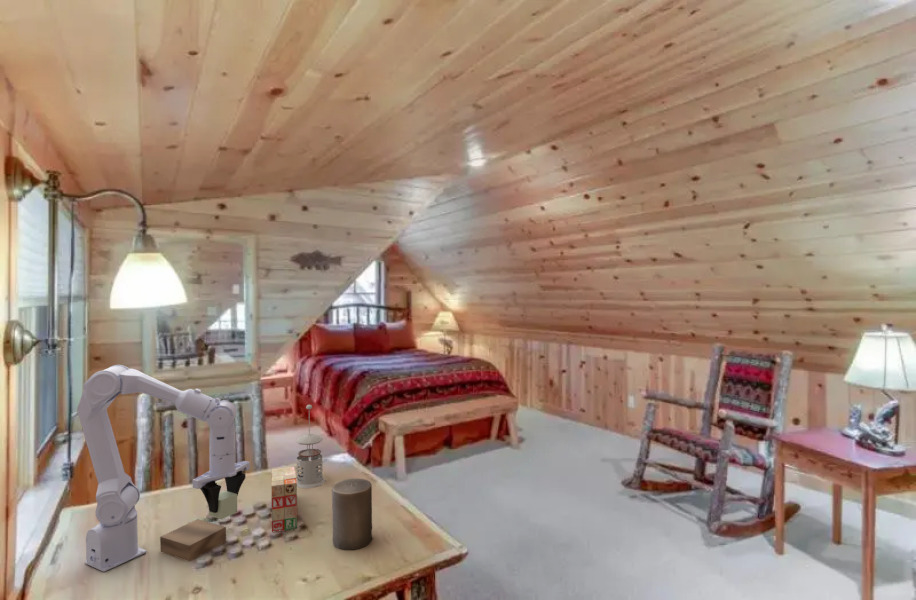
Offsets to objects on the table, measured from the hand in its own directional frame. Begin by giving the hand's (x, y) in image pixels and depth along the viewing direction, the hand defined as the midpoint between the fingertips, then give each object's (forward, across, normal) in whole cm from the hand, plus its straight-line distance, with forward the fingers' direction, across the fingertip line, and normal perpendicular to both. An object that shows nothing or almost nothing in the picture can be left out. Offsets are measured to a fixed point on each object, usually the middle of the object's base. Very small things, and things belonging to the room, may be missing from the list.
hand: (222, 507), depth 124 cm
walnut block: (+9, -4, +5) cm, 11 cm away
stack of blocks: (+9, +19, 0) cm, 21 cm away
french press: (+9, +40, +10) cm, 42 cm away
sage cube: (+2, 0, 0) cm, 2 cm away
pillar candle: (+9, +16, -27) cm, 33 cm away
